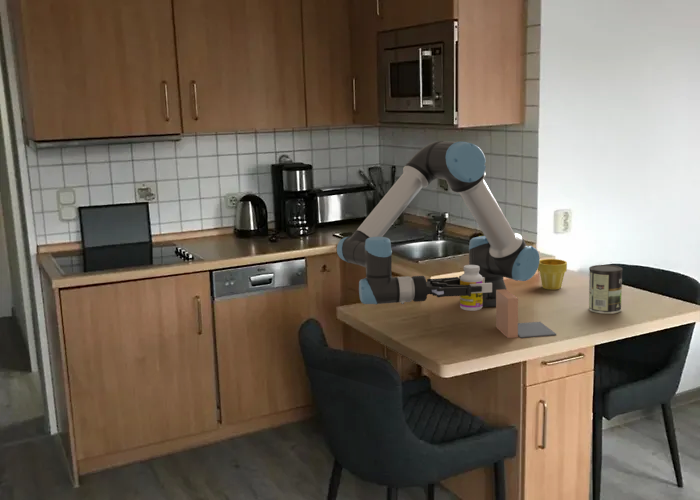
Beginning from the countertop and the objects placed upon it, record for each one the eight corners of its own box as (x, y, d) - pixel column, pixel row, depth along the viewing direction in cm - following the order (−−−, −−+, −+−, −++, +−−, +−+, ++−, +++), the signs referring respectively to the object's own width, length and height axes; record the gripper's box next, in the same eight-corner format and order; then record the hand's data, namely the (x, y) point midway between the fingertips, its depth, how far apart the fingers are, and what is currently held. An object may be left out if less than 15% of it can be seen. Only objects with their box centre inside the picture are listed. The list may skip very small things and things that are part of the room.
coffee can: (618, 305, 253) (620, 264, 250) (623, 314, 243) (624, 271, 240) (586, 305, 255) (587, 264, 252) (589, 313, 245) (590, 271, 242)
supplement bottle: (477, 312, 222) (477, 269, 219) (456, 309, 225) (456, 267, 223) (486, 307, 227) (486, 265, 225) (465, 304, 231) (465, 263, 228)
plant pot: (569, 290, 275) (570, 264, 273) (541, 291, 275) (541, 265, 273) (562, 283, 285) (562, 258, 283) (534, 284, 285) (534, 259, 283)
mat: (520, 338, 223) (520, 336, 223) (506, 325, 236) (506, 324, 236) (556, 335, 225) (556, 333, 224) (540, 322, 237) (540, 321, 237)
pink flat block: (507, 338, 224) (508, 298, 221) (496, 327, 235) (496, 289, 232) (517, 337, 224) (518, 298, 222) (505, 326, 235) (505, 289, 233)
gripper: (405, 293, 233) (478, 289, 236) (419, 310, 214) (498, 305, 217) (405, 269, 232) (478, 265, 234) (418, 284, 213) (498, 279, 215)
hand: (487, 284), depth 226 cm, fingers closed on supplement bottle, 7 cm apart
